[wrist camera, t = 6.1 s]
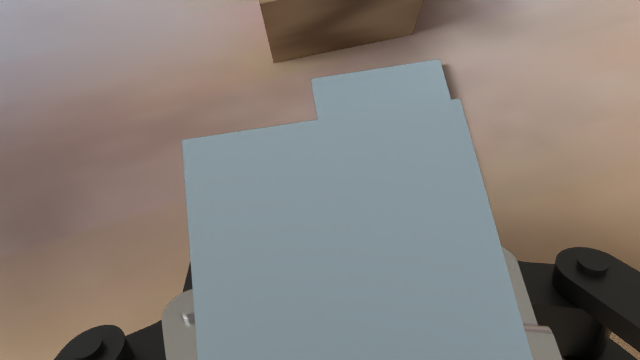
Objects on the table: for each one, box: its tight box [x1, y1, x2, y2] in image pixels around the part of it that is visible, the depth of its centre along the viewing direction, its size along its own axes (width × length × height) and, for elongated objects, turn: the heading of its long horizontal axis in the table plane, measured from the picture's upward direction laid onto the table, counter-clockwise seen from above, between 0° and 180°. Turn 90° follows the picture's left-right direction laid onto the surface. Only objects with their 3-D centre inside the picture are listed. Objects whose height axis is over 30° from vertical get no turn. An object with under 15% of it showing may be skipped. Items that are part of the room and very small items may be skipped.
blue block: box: [182, 98, 533, 360], centre depth 11 cm, size 4×4×11 cm
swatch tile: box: [311, 59, 451, 119], centre depth 21 cm, size 7×7×1 cm
